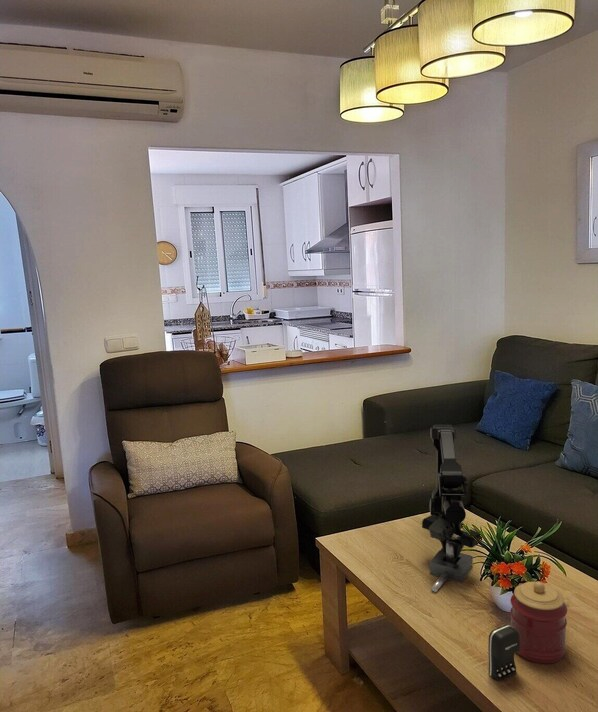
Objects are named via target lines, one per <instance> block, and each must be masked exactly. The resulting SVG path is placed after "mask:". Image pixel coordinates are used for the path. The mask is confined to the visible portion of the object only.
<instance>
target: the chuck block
mask: <svg viewBox="0 0 598 712" xmlns="http://www.w3.org/2000/svg"><path fill="white" fill-rule="evenodd" d="M473 558H474V557H473V555H470V554H466V553H462V552H460V554H459V556H458V558H457V563H456V564H453V563H450V562H446V554H445V553H444V550H443V547H441V549H440V550H438V552H437V553H436V554H435V555H434V556H433V558H431V560H430V561H429V574H430V575H433V576H437V577H439V578H438V579H437V580H436V581H435V583H433V585H432V586H431V587H430V591H431V592H432V593H435V594H436V593H437V592H438V590H439V589H440V588H441V587H442V586H443V584H444V583H445V581H447V580H450V581H453V582H457V583H460V584H461V583H462V582H463V581H464V580H465V579H466V578H467V576H468V575H469V573H470V572H471V571H472V570H473V568H474V567H473V566H474V565H471V564H472V563H473ZM473 564H474V563H473Z"/></svg>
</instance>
